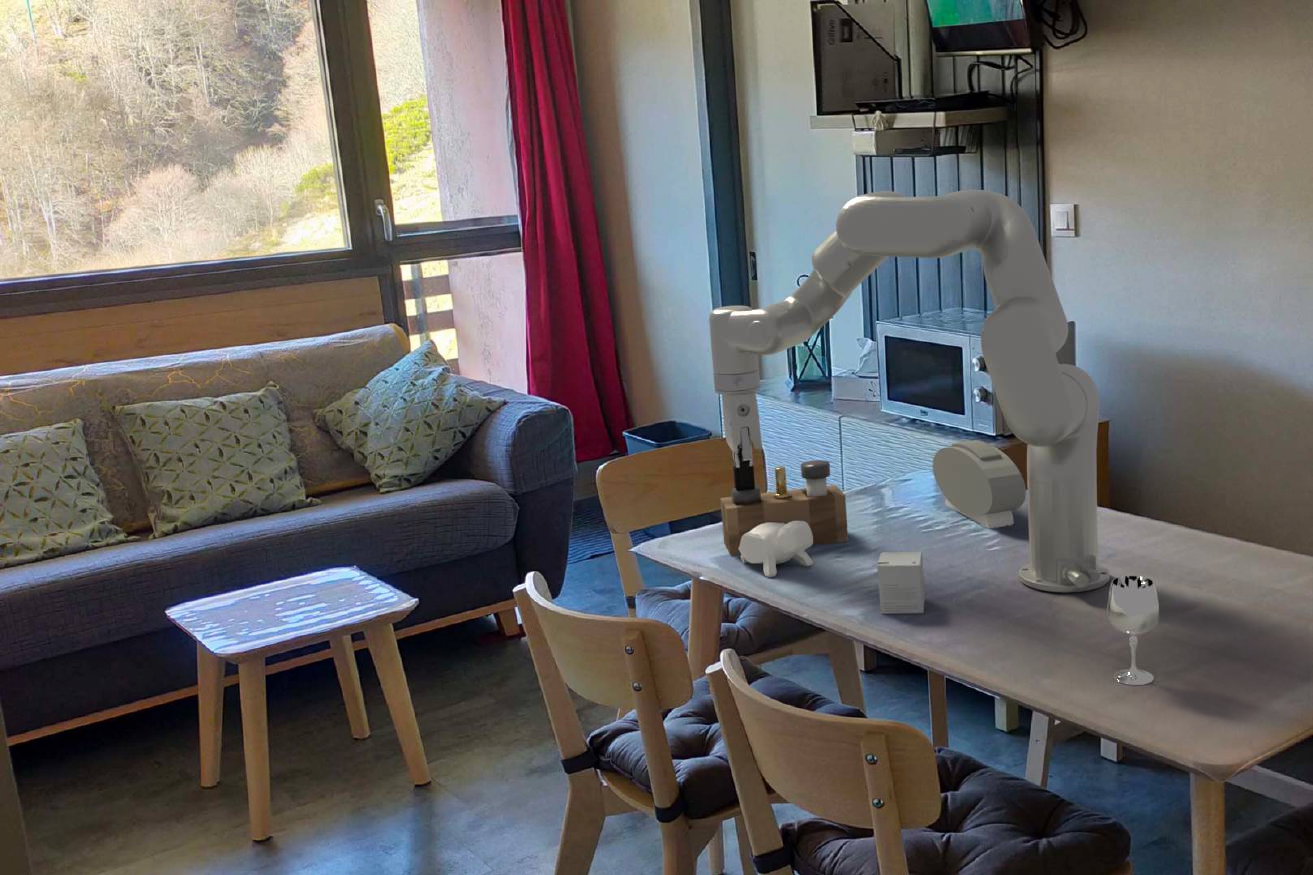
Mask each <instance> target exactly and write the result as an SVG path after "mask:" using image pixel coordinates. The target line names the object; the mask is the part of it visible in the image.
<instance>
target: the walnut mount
mask: <svg viewBox="0 0 1313 875" xmlns="http://www.w3.org/2000/svg"><path fill="white" fill-rule="evenodd" d="M787 491H789V492H791V497H790V498H786V499H775V498H773V493H774V492H775V491H771V492H763V493H762V492H761V501H759V502H757V503H754V504H746V505H737V504H735V503H733V502H732V496H728V497H727V496H726V497H721V498H720V501H719V502H720V508H721V509H720V510H721V512H720V513H721V524H722V535H723V544H724V545H725V547H726V550H727V551H728V554H729V556H734V555H741V552H740V551H739V549H738V548H739V546H740V542H741V538H742V536H743V535H744V534H746V533H748V532H750V531H751V530H752V529H754V528H755V527H756V526H758V525H760V524H764V523H770V522H773V523H784V524H787V523H789V522H791V521H805V522H807V523H808V525H809V527H810V529H811V532H812V535H813V544H812V545H811V546H818V545H827V544H836V543H842V542H843V543H845V542H849V532H848V518H847V517H848V516H847V515H848V514H847V501H846V494H845V493H844V492H843V491H842V490H841V489H840V488H839V487H838V486H837V485H836V484H832V485H827V495H824V496H815V497H807V487H806V488H798V489H789V490H788V489H787ZM811 546H810V547H811Z"/></svg>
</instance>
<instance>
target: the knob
mask: <svg viewBox="0 0 1313 875" xmlns="http://www.w3.org/2000/svg"><path fill="white" fill-rule="evenodd" d="M830 465H831V464H830V462H829V461H827V460H821V459H820V460H819V459H818V460H817V459H816V460H815V459H814V460H809V461H805V462H802V463H800V472H801V473H800V474H801V478H803V479H805V482H806V483H805V486H806V488H807V497H815V496H824V495H827V486H828V484H827V478H828V477H830V476H831V466H830Z"/></svg>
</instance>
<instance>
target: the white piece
mask: <svg viewBox="0 0 1313 875" xmlns="http://www.w3.org/2000/svg"><path fill="white" fill-rule="evenodd" d="M812 544H813V535H812V532H811V529H810V527H809V525H808V523H807V522H805V521H791V522H789V523H787V524H784V523H773V522H770V523H764V524H760V525H758V526H756V527H755V528H754V529H752V530H751V531H750V532H748V533H746V534H744V535H743V536H742V538H741V542H740V546H739V548H738V549H739V551H740V552H741V554H740V559H741V562H742V565H743V564H744V563H745V564H747V563H750V564H761V565H763V570H762V571H763V573H764V574H763V575H765V576H764V577H766V576H767V577H766V578H768V577H770V578H774V577H776V575H777V574H778V571H777V566H776V565H779V564H782V563H786V562H787V561H790V560H791V559H794V560H796V561H798V562H799V563H800V564H801V565H802V566H804V567H810V566H812V564H813V560H812V558H811V557H810V555H809V554H808V553H807V552H806V550H807V549H808V548H810V547H811V545H812ZM812 546H813V545H812ZM745 564H744V565H745Z"/></svg>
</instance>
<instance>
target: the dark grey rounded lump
mask: <svg viewBox="0 0 1313 875" xmlns="http://www.w3.org/2000/svg"><path fill="white" fill-rule="evenodd" d="M761 493H762V492H761V486H759V485H755V489H751V490H742V491H737V490H736V489H735V487H733V488H732V489H731V497H732V502H733V503H735V504H737V505H746V504H754V503H757V502H759V501H761Z"/></svg>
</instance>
